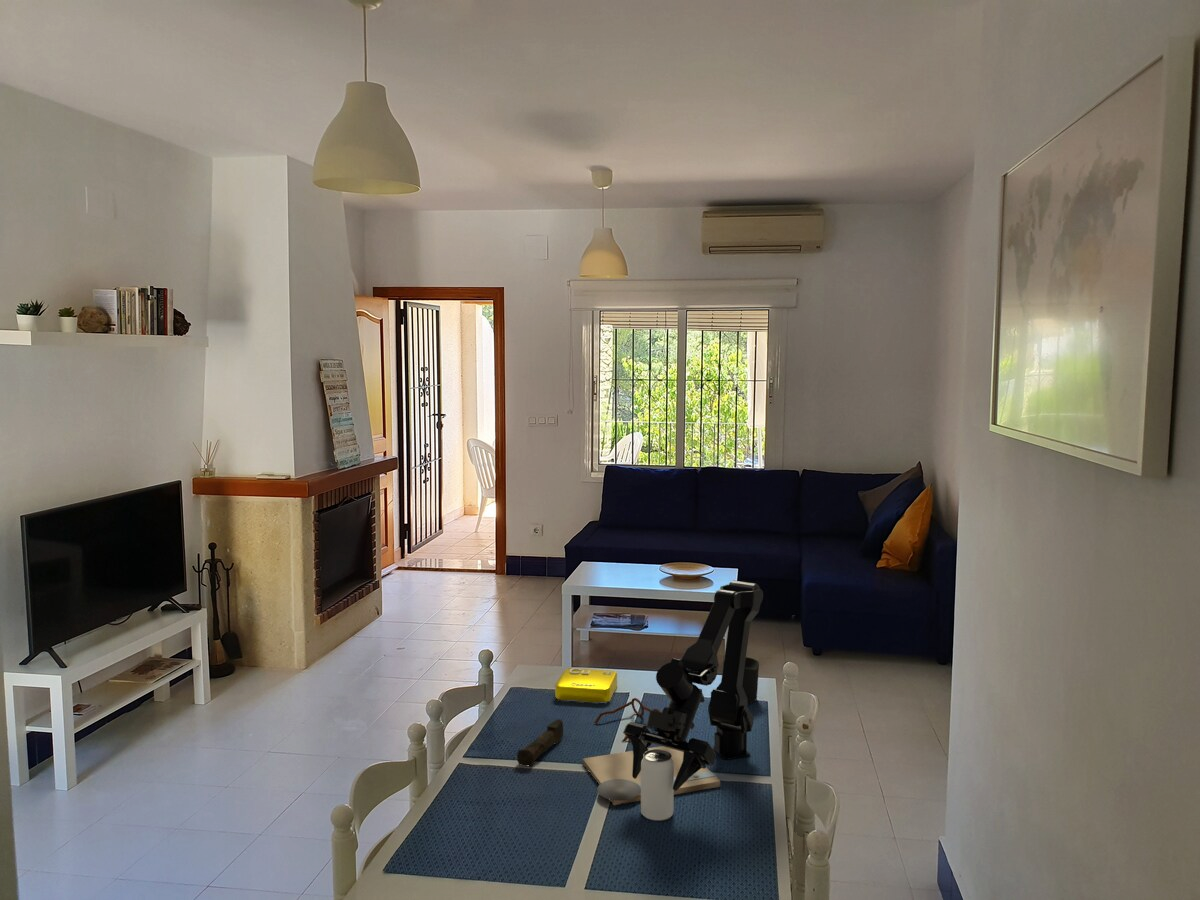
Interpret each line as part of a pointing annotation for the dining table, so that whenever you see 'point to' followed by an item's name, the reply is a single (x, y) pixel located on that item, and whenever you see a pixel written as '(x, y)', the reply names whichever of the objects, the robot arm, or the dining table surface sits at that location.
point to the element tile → (586, 685)
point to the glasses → (626, 706)
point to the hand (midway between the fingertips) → (653, 783)
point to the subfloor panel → (624, 788)
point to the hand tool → (541, 743)
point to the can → (657, 785)
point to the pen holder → (750, 679)
